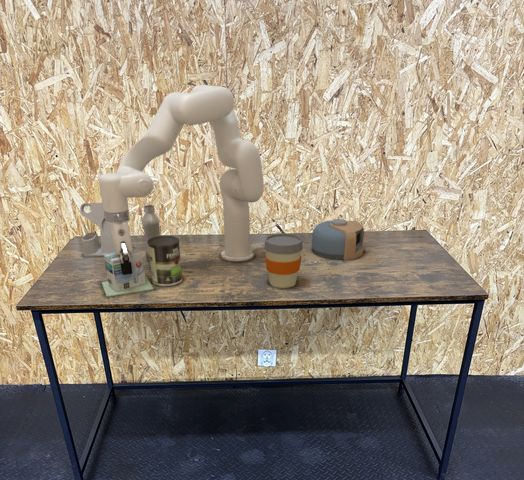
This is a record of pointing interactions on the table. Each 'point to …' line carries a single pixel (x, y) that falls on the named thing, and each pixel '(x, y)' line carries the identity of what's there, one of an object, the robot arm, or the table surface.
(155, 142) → the robot arm
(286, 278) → the reusable coffee cup
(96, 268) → the table surface
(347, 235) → the alarm clock
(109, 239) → the phone holder
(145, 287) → the pad
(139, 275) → the light bulb box
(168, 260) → the coffee can
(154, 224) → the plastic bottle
